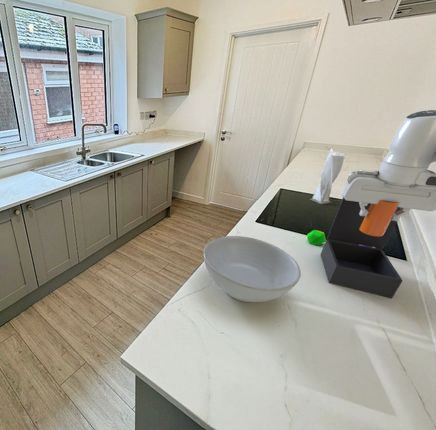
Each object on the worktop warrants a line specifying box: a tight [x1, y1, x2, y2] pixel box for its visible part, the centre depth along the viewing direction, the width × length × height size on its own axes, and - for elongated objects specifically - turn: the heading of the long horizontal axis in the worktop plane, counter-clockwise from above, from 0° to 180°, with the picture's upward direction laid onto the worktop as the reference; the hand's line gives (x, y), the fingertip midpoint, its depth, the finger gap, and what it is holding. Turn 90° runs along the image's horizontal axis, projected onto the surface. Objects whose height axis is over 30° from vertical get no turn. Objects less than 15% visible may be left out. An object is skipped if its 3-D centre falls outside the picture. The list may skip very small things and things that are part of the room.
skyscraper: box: [309, 147, 346, 205], centre depth 138 cm, size 8×8×28 cm
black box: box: [320, 238, 403, 299], centre depth 88 cm, size 18×16×8 cm
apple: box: [306, 229, 327, 246], centre depth 107 cm, size 7×6×9 cm
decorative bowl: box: [203, 235, 302, 303], centre depth 83 cm, size 27×27×12 cm
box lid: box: [326, 196, 401, 250], centre depth 89 cm, size 18×16×1 cm
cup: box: [359, 200, 399, 236], centre depth 78 cm, size 6×6×11 cm
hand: (377, 217), depth 78 cm, fingers closed on cup, 5 cm apart
